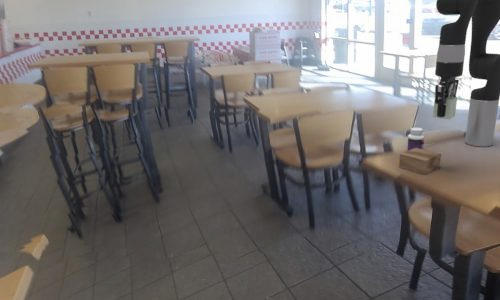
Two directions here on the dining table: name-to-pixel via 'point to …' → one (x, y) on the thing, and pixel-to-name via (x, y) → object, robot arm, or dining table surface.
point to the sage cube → (447, 108)
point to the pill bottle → (415, 139)
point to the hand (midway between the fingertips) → (443, 114)
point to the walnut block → (419, 160)
